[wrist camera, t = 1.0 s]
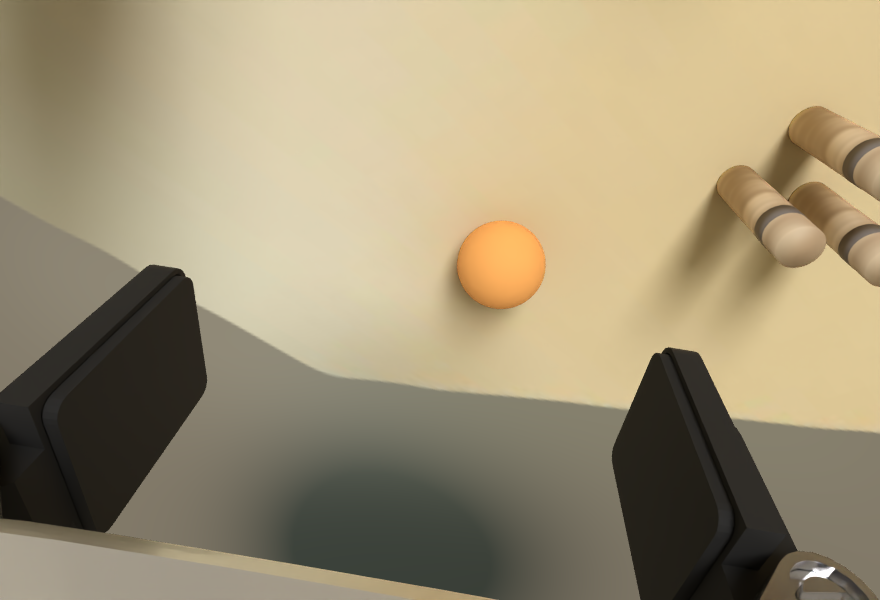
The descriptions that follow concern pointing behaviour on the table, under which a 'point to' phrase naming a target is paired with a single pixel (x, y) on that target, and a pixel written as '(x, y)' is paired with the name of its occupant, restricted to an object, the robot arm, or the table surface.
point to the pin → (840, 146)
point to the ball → (501, 264)
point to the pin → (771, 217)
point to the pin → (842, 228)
